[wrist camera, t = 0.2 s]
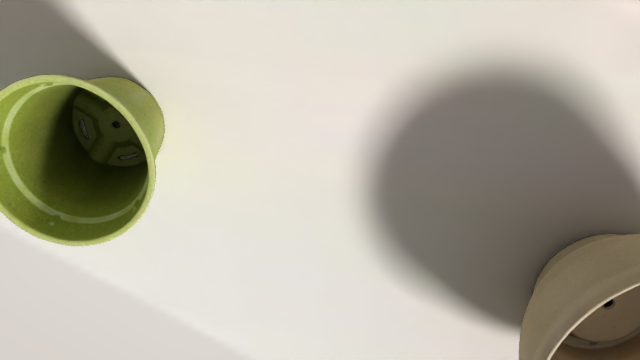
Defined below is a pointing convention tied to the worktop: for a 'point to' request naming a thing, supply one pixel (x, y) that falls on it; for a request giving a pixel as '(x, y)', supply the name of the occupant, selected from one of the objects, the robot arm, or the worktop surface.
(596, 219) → the worktop surface
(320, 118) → the worktop surface
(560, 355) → the planter bowl
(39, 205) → the plant pot
